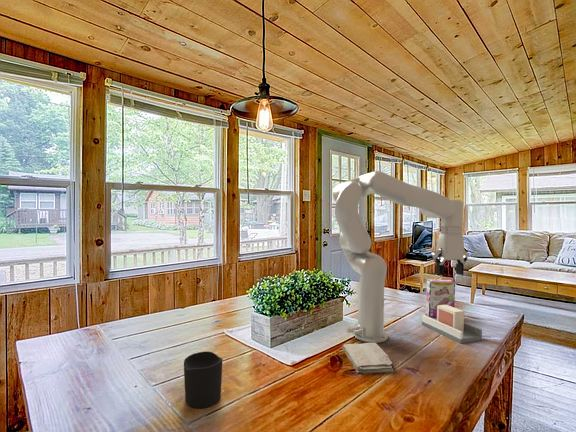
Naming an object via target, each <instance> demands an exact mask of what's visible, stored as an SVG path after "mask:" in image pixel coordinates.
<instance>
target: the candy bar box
mask: <svg viewBox="0 0 576 432" xmlns="http://www.w3.org/2000/svg"><path fill="white" fill-rule="evenodd" d="M425 292H426V293H425V294H426V295H425V296H426V297H425V315H426V316H427V317H429V318H437V305H449V306H451V307H454V308H455V300H456V299H455V298H456V282H455V281H453V280H451V279H434V278H433V279H432V278H431V279H429V278H427V279H426V291H425Z"/></svg>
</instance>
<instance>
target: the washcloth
mask: <svg viewBox="0 0 576 432" xmlns="http://www.w3.org/2000/svg"><path fill="white" fill-rule="evenodd" d="M341 348H342V350H343V351H345V352H344V353H345V355H346V357H347V358H348V360H349V361H350V362H351V364H352V365H353V368H354V369H355V371H356V373H357V374H360V373H361V374H377V373H379V374H380V373H381V374H382V373H393V372H394V369H393V367H392V365H393V362H392V361H391V359H390V357H389V355H388V354H387V353H386V352H385V351H384V350H383V349H382V348H381V347H380V346H379V345H378V343H370V342H364V343H359V344H358V343H347V344H343V345H342V347H341Z"/></svg>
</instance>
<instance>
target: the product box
mask: <svg viewBox="0 0 576 432" xmlns="http://www.w3.org/2000/svg"><path fill="white" fill-rule="evenodd" d="M436 320H437V321H439V322H441V323H443V324H445V325H448V326H450V327H452V328H455V329H457V330H459V331H461V332H464V323H465V311H464V310H462V309H459V308H457V307H455V306H454V307H451V306H449V305H437V317H436Z"/></svg>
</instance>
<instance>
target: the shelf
mask: <svg viewBox="0 0 576 432" xmlns="http://www.w3.org/2000/svg"><path fill="white" fill-rule="evenodd" d="M421 325H422V326H424V327H426V328H427V329H430V330H431V331H434V332H437V333H438V334H440V335H442V336H445V337H447V338H448V339H451V340H452V341H455V342H457V343H459V344H465V343H472V342H477V341H478V342H479V341H482V339H483V338H482V336H483V329H482V328H480V327H477V326H475V325H471V324H469V323H467V322H464V332H461V331H459V330H457V329H455V328H452V327H450V326H448V325H445V324H443V323H441V322H439V321H437V319H435V318H433V317H429V316H428V315H426V314H422V315H421Z"/></svg>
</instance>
